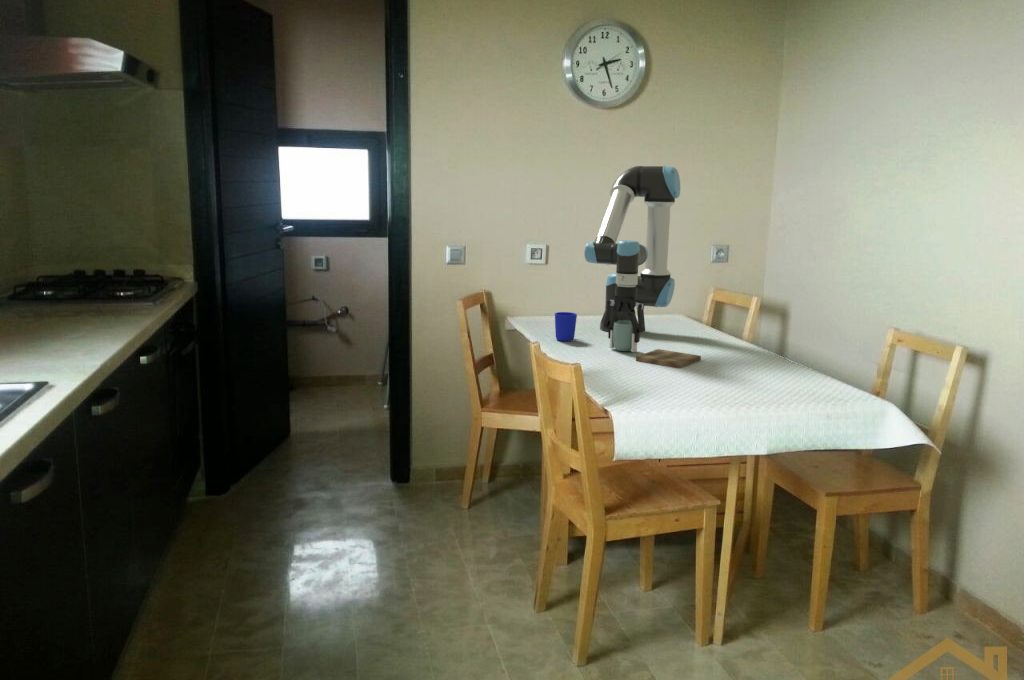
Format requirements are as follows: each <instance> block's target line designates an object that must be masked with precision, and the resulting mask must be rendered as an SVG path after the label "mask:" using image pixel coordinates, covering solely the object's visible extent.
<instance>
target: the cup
mask: <svg viewBox="0 0 1024 680" xmlns="http://www.w3.org/2000/svg"><path fill="white" fill-rule="evenodd" d="M632 333H634V330H633V327H632V324H631V321H616V322H614V325H613V343H614V347H615V348H614V349H615V350H616V351H618V352H629V351H631V346H632Z"/></svg>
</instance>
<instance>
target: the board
mask: <svg viewBox="0 0 1024 680" xmlns="http://www.w3.org/2000/svg"><path fill="white" fill-rule="evenodd" d="M635 361H636V362H642V363H646V364H647V363H648V364H653V365H654V364H655V365H660V366H664V367H665V366H666V367H671V368H678V369H681V368H684V367H687V366H689V365H693V364H694V363H696V362H699V361H702V356H701V355H699V354H691V353H686V352H678V351H674V350H665V349H661V348H660V349H659V348H656V349H654V350H650V351H648V352H645V353H642V354H638V355H636V357H635Z"/></svg>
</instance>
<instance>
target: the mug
mask: <svg viewBox="0 0 1024 680" xmlns="http://www.w3.org/2000/svg"><path fill="white" fill-rule="evenodd" d="M577 316H578V314H577V313H575V312H571V311H570V312H568V311H566V312H565V311H560V312H555V313H554V325H555V326H554V329H555V331H554V332H555V338H556V340H557V341H559V342H571V341H573V340H574V339H575V334H576V325H577V319H578V318H577Z"/></svg>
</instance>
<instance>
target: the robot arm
mask: <svg viewBox="0 0 1024 680" xmlns="http://www.w3.org/2000/svg"><path fill="white" fill-rule="evenodd" d="M609 194H610V199H609V202H608V204H607V207H606V210H605V212H604V215H603V218H602V220H601V224H600V225H599V229H598V232H597V234H596V236H595V240H594V241H591V242H590V241H588V242H587V243H586V245H585V246H584V253H583V254H584V259H585V261H586V262H587V263H590V264H598V265H601V264H602V265H616V268H615V269H616V271H615V272H613V273H610V274H608V275H607V276H606V284H605V305H604V306H605V307H604V313H603V315H602V318H601V320H600V323H599V329H600V330H601V331H603V332H604V331H605V332H608V334H607V336H608V337H607V338H608V339H609V349H615V347H614V343H613V325H614V322H616V321H631V324H632V327H633V330H634V333H632V346H631V350H630V351H631V352H630V353H636V352H638V351H637V349H638V343H640V339H641V333H644V332H645V331H646V321H645V312H644V310H645V307H655V308H667V307H668V306H669V305H670V303H671V302H672V299H673V295H674V290H675V286H676V285H675V282H676V281H675V278H673V277H671V272H670V271H669V270H668V255H669V254H668V253H669V241H670V239H669V238H670V237H669V236H670V225H671V224H670V223H671V222H670V221H671V220H670V219H671V207H672V206H673V205H674V204H675V202H676V199H678V198H679V197H680V195H681V179H680V175H679V171H678V170H677V168H676V167H674V166H666V165H663V166H661V165H659V166H657V165H656V166H654V165H653V166H651V165H650V166H649V165H647V166H646V165H643V166H642V165H637V166H633V167H631V168H628V169H626V170H625V171H623V172H622V173H621V174H620V175H619V176H618V177H617V178H616V180H615V181H614V182H613V184H612V186H611V189H610V192H609ZM635 198H644V201H643V202H644V204H645V205H646V206H647V218H646V220H647V221H646V238H645V239H646V240H645V245H644V244H641V243H640V242H639V241H637V240H631V239H630V240H618V237H619V236H620V235H619V234H620V232H621V230H622V226H623V224H624V222H625V221H624V220H625V217H626V216H627V213H628V209H629V206H630V203H633V201H634V200H635ZM617 240H618V242H617ZM643 264H644V268H643V270H641V271H640V276H639V266H641V265H643ZM635 308H636V310H635ZM636 312H637V315H636Z"/></svg>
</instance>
